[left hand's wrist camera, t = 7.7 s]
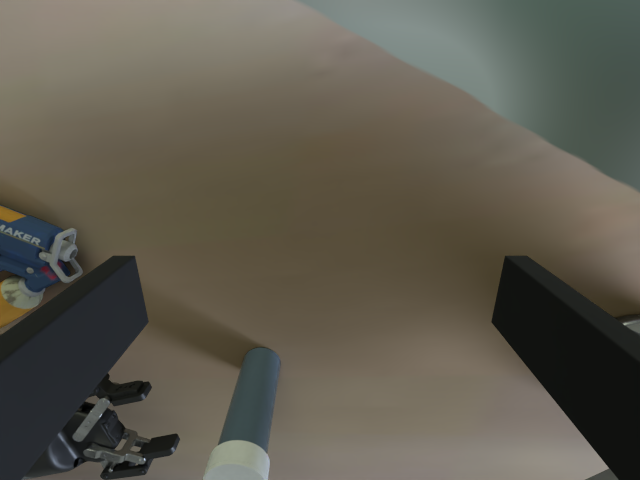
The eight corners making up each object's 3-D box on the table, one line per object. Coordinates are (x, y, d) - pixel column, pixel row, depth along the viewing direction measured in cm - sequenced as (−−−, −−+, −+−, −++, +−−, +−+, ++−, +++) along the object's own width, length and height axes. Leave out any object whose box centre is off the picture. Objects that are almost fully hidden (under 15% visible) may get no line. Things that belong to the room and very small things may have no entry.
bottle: (247, 343, 44) (212, 457, 30) (284, 351, 45) (267, 467, 30) (240, 373, 46) (204, 494, 31) (276, 380, 46) (257, 503, 32)
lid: (214, 434, 31) (206, 458, 29) (275, 446, 32) (272, 470, 30) (205, 476, 33) (197, 501, 31) (263, 486, 34) (259, 511, 32)
